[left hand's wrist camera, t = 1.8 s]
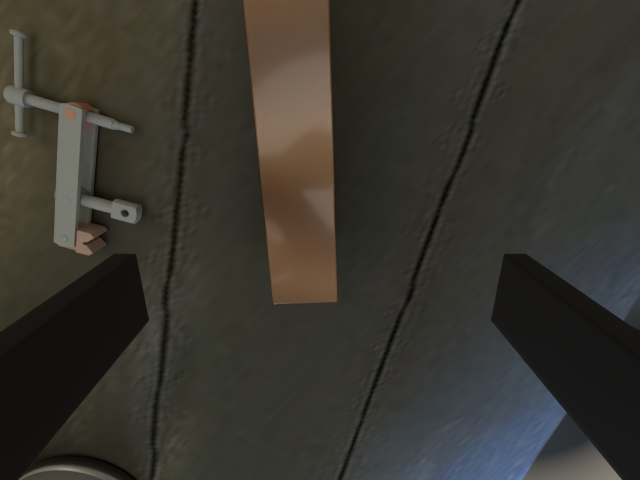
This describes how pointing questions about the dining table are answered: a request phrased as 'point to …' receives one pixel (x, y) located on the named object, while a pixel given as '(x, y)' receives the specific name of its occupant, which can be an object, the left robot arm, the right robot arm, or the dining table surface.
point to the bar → (295, 144)
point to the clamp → (71, 162)
